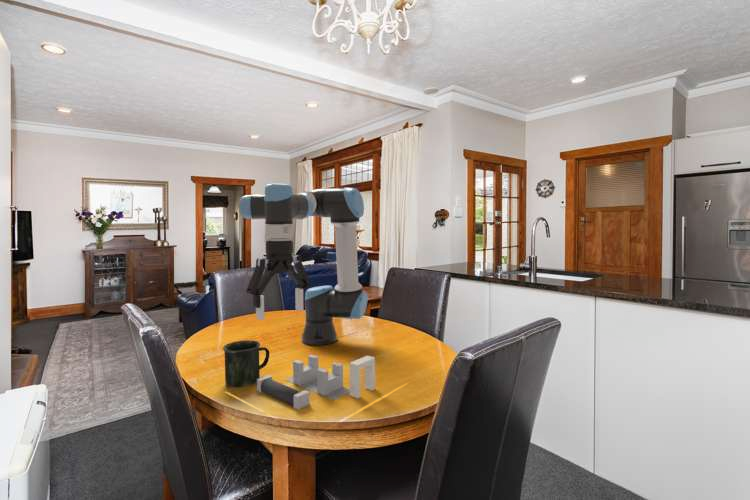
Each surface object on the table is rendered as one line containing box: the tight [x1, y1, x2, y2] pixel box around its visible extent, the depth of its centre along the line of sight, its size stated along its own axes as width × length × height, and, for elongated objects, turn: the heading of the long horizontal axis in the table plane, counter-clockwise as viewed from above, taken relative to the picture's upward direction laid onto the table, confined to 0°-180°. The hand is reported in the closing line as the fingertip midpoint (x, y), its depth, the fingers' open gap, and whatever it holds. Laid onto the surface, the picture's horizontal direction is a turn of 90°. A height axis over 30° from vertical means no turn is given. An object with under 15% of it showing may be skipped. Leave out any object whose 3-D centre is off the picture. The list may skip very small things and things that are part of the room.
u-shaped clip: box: [349, 355, 376, 399], centre depth 115 cm, size 3×8×10 cm, turn 141°
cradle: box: [285, 354, 350, 401], centre depth 120 cm, size 22×8×8 cm, turn 51°
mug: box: [222, 339, 270, 388], centre depth 124 cm, size 11×15×12 cm
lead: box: [256, 374, 311, 410], centre depth 112 cm, size 19×4×4 cm, turn 51°
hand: (280, 314), depth 110 cm, fingers open, 13 cm apart
